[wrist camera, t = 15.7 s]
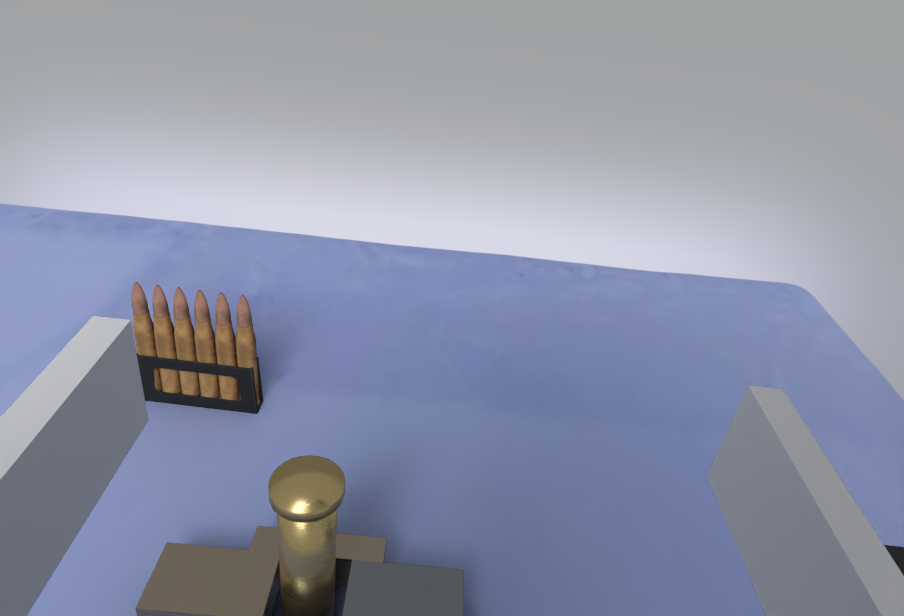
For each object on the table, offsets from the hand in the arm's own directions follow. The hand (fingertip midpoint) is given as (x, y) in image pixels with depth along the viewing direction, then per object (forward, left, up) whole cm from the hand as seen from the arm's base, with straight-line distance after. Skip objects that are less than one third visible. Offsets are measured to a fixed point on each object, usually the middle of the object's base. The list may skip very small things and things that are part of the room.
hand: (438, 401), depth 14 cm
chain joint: (+6, -15, -32) cm, 36 cm away
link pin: (+6, -15, -32) cm, 36 cm away
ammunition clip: (+20, -35, -32) cm, 51 cm away
